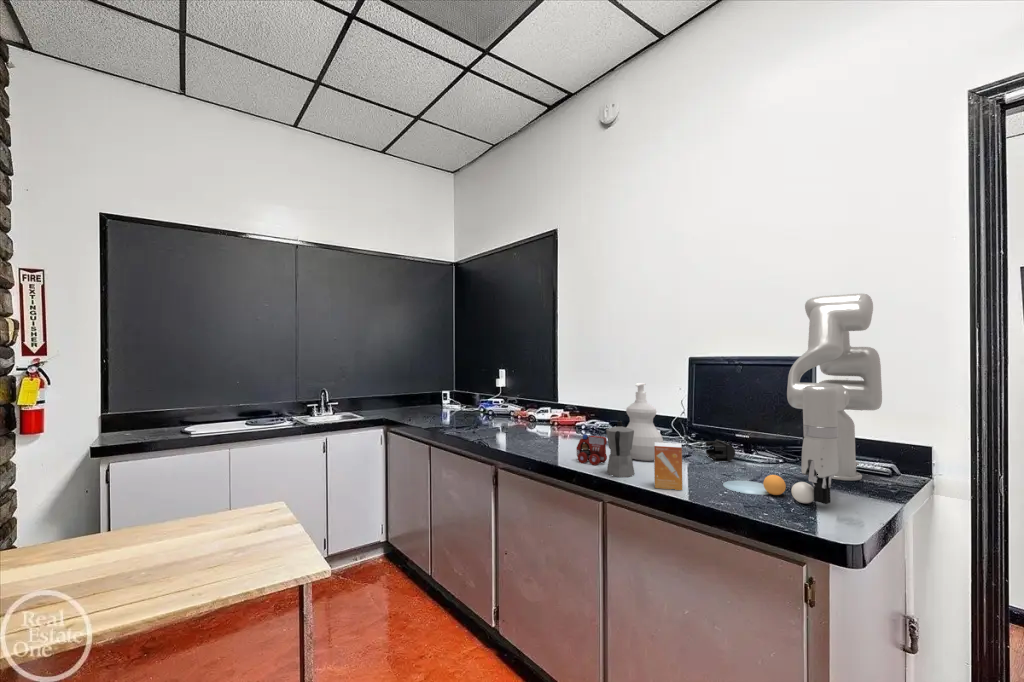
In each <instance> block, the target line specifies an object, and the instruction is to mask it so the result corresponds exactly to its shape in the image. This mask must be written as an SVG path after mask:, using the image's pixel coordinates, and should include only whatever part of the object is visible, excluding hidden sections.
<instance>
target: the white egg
mask: <svg viewBox="0 0 1024 682" xmlns="http://www.w3.org/2000/svg"><path fill="white" fill-rule="evenodd" d="M791 495H792V497H793V498H794V499H795V500H796V501H797V502H798V503H801V504H811V503H812V502H815V501H814V486H813V485H812V484H810V483H807V482H805V481H799V482H796V483H794V484H793V485H792V486H791Z"/></svg>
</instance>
